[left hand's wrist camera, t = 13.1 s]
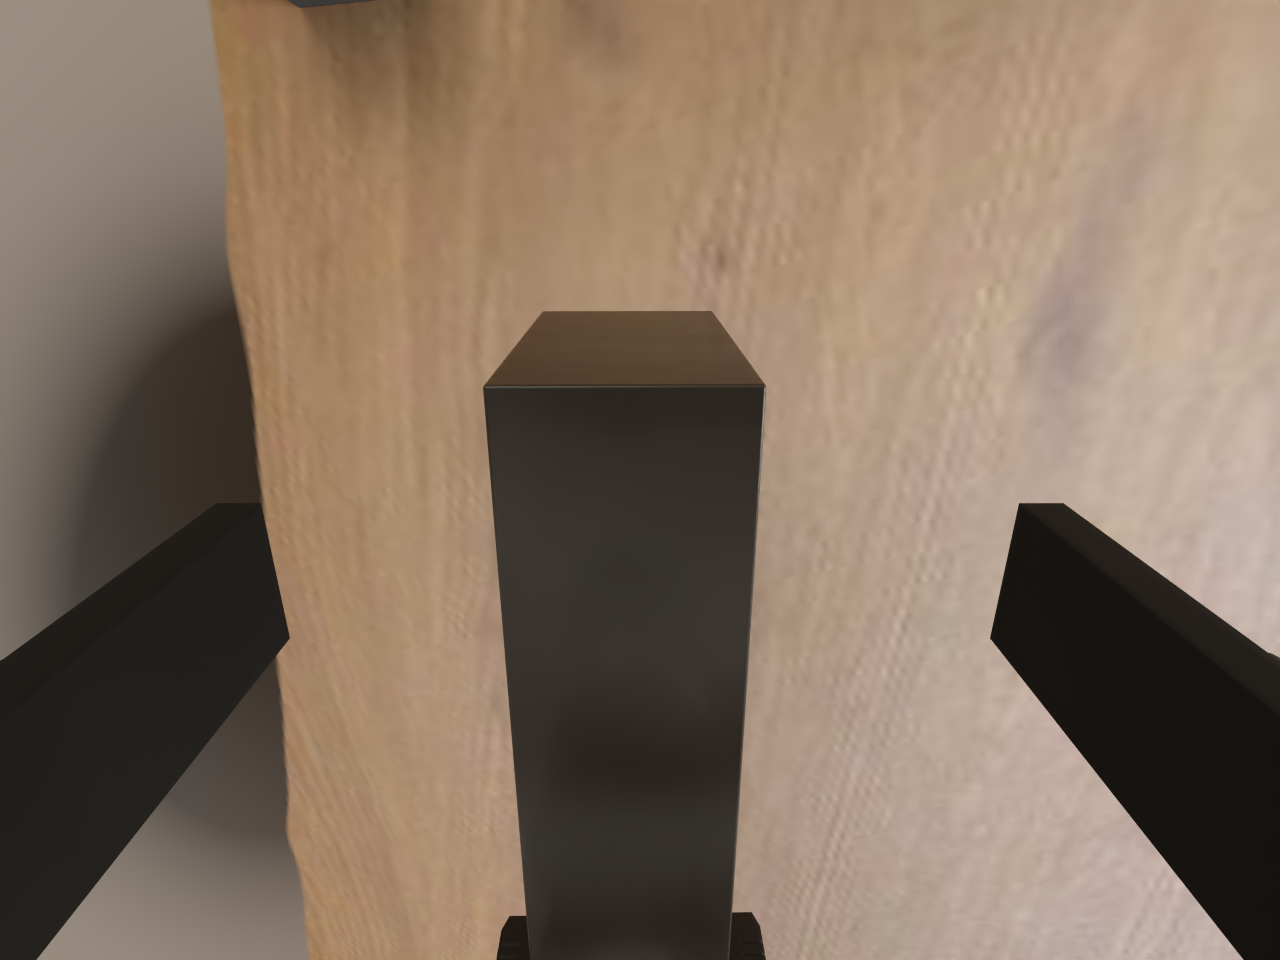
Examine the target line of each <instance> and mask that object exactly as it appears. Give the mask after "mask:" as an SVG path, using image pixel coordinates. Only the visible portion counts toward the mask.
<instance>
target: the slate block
mask: <svg viewBox="0 0 1280 960" xmlns="http://www.w3.org/2000/svg"><path fill="white" fill-rule="evenodd" d="M288 1H289V2H291V3H293V4H295V5H296V6H298V7H300V8H301V7H311V6H321V5H331V4H341V3H351V2H361V1H371V0H288Z"/></svg>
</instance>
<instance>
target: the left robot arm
mask: <svg viewBox="0 0 1280 960" xmlns="http://www.w3.org/2000/svg"><path fill="white" fill-rule="evenodd" d="M289 639H290V637H289V632H288V627H287V623H286V618H285V613H284V609H283V604H282V599H281V595H280V590H279V585H278V581H277V576H276V571H275V567H274V562H273V557H272V553H271V548H270V544H269V539H268V534H267V530H266V525H265V520H264V516H263V511H262V506H261V503H217V504H215V505H214V506H212V507H211V508H210V509H208V510H207V511H206V512H204V513H203V514H201V515H200V516H199V517H197V518H196V519H195V520H193V521H192V522H190V523H189V524H188V525H186V526H185V527H184V528H182V529H181V530H179V531H178V532H177V533H175V534H174V535H173V536H171V537H170V538H169V539H167V540H166V541H164V542H163V543H162V544H160V545H159V546H158V547H156V548H155V549H154V550H152V551H151V552H149V553H148V554H147V555H145V556H144V557H143V558H141V559H140V560H138V561H137V562H136V563H134V564H133V565H132V566H130V567H129V568H128V569H126V570H125V571H123V572H122V573H121V574H119V575H118V576H117V577H115V578H114V579H112V580H111V581H110V582H108V583H107V584H106V585H104V586H103V587H102V588H100V589H99V590H97V591H96V592H95V593H93V594H92V595H91V596H89V597H88V598H87V599H85V600H84V601H82V602H81V603H80V604H78V605H77V606H75V607H74V608H73V609H71V610H70V611H69V612H67V613H66V614H65V615H63V616H62V617H60V618H59V619H58V620H56V621H55V622H54V623H52V624H51V625H49V626H48V627H47V628H45V629H44V630H43V631H41V632H40V633H39V634H37V635H36V636H35V637H33V638H32V639H30V640H29V641H28V642H26V643H25V644H23V645H22V646H21V647H19V648H18V649H17V650H15V651H14V652H13V653H11V654H10V655H8V656H7V657H6V658H4V659H3V660H1V661H0V960H37V958H38V957H39V956H40V954H41V953H42V952H43V951H44V949H45V948H46V947H47V946H48V944H49V943H50V942H51V940H52V939H53V938H54V937H55V935H56V934H57V933H58V932H59V930H60V929H61V928H62V927H63V925H64V924H65V923H66V921H67V920H68V919H69V918H70V916H71V915H72V914H73V912H74V911H75V910H76V909H77V907H78V906H79V905H80V904H81V902H82V901H83V900H84V899H85V897H86V896H87V895H88V894H89V892H90V891H91V890H92V888H93V887H94V886H95V885H96V883H97V882H98V881H99V880H100V878H101V877H102V876H103V875H104V873H105V872H106V871H107V869H108V868H109V867H110V866H111V864H112V863H113V862H114V861H115V859H116V858H117V857H118V855H119V854H120V853H121V852H122V850H123V849H124V848H125V847H126V845H127V844H128V843H129V842H130V840H131V839H132V838H133V836H134V835H135V834H136V833H137V831H138V830H139V829H140V828H141V826H142V825H143V824H144V822H145V821H146V820H147V819H148V817H149V816H150V815H151V814H152V812H153V811H154V810H155V809H156V807H157V806H158V805H159V803H160V802H161V801H162V800H163V798H164V797H165V796H166V795H167V793H168V792H169V791H170V790H171V788H172V787H173V786H174V784H175V783H176V782H177V781H178V779H179V778H180V777H181V776H182V774H183V773H184V772H185V770H186V769H187V768H188V767H189V765H190V764H191V763H192V762H193V760H194V759H195V758H196V756H197V755H198V754H199V753H200V751H201V750H202V749H203V748H204V746H205V745H206V744H207V743H208V741H209V740H210V739H211V737H212V736H213V735H214V734H215V732H216V731H217V730H218V729H219V727H220V726H221V725H222V724H223V722H224V721H225V720H226V718H227V717H228V716H229V715H230V713H231V712H232V711H233V710H234V708H235V707H236V706H237V704H238V703H239V702H240V701H241V699H242V698H243V697H244V696H245V694H246V693H247V692H248V691H249V689H250V688H251V687H252V685H253V684H254V683H255V682H256V680H257V679H258V678H259V677H260V675H261V674H262V673H263V672H264V670H265V669H266V668H267V666H268V665H269V664H270V663H271V661H272V660H273V659H274V658H275V656H276V655H277V654H278V653H279V651H280V650H281V649H282V647H283V646H284V645H285V644H286V642H287V641H288V640H289ZM990 639H991V640H992V641H993V642H994V644H995V645H996V646H997V647H998V649H999V650H1000V651H1001V653H1002V654H1003V655H1004V656H1005V658H1006V659H1007V660H1008V661H1009V663H1010V664H1011V665H1012V666H1013V668H1014V669H1015V670H1016V672H1017V673H1018V674H1019V675H1020V677H1021V678H1022V679H1023V680H1024V682H1025V683H1026V684H1027V686H1028V687H1029V688H1030V689H1031V691H1032V692H1033V693H1034V694H1035V696H1036V697H1037V698H1038V699H1039V701H1040V702H1041V703H1042V705H1043V706H1044V707H1045V708H1046V710H1047V711H1048V712H1049V713H1050V715H1051V716H1052V717H1053V718H1054V720H1055V721H1056V722H1057V724H1058V725H1059V726H1060V727H1061V729H1062V730H1063V731H1064V732H1065V734H1066V735H1067V736H1068V738H1069V739H1070V740H1071V741H1072V743H1073V744H1074V745H1075V746H1076V748H1077V749H1078V750H1079V751H1080V753H1081V754H1082V755H1083V757H1084V758H1085V759H1086V760H1087V762H1088V763H1089V764H1090V765H1091V767H1092V768H1093V769H1094V771H1095V772H1096V773H1097V774H1098V776H1099V777H1100V778H1101V779H1102V781H1103V782H1104V783H1105V784H1106V786H1107V787H1108V788H1109V790H1110V791H1111V792H1112V793H1113V795H1114V796H1115V797H1116V798H1117V800H1118V801H1119V802H1120V803H1121V805H1122V806H1123V807H1124V809H1125V810H1126V811H1127V812H1128V814H1129V815H1130V816H1131V817H1132V819H1133V820H1134V821H1135V823H1136V824H1137V825H1138V826H1139V828H1140V829H1141V830H1142V831H1143V833H1144V834H1145V835H1146V836H1147V838H1148V839H1149V840H1150V842H1151V843H1152V844H1153V845H1154V847H1155V848H1156V849H1157V850H1158V852H1159V853H1160V854H1161V855H1162V857H1163V858H1164V859H1165V861H1166V862H1167V863H1168V864H1169V866H1170V867H1171V868H1172V869H1173V871H1174V872H1175V873H1176V875H1177V876H1178V877H1179V878H1180V880H1181V881H1182V882H1183V883H1184V885H1185V886H1186V887H1187V888H1188V890H1189V891H1190V892H1191V894H1192V895H1193V896H1194V897H1195V899H1196V900H1197V901H1198V902H1199V904H1200V905H1201V906H1202V908H1203V909H1204V910H1205V911H1206V913H1207V914H1208V915H1209V916H1210V918H1211V919H1212V920H1213V921H1214V923H1215V924H1216V925H1217V927H1218V928H1219V929H1220V930H1221V932H1222V933H1223V934H1224V935H1225V937H1226V938H1227V939H1228V940H1229V942H1230V943H1231V944H1232V946H1233V947H1234V948H1235V949H1236V951H1237V952H1238V953H1239V954H1240V956H1241V957H1242V958H1243V960H1280V658H1279V657H1277V656H1275V655H1273V654H1271V653H1267V652H1266V651H1265V650H1263V649H1262V648H1261V647H1259V646H1258V645H1257V644H1255V643H1254V642H1252V641H1251V640H1250V639H1248V638H1247V637H1246V636H1244V635H1243V634H1241V633H1240V632H1239V631H1237V630H1236V629H1235V628H1233V627H1232V626H1231V625H1229V624H1228V623H1226V622H1225V621H1224V620H1222V619H1221V618H1220V617H1218V616H1217V615H1215V614H1214V613H1213V612H1211V611H1210V610H1209V609H1207V608H1206V607H1205V606H1203V605H1202V604H1200V603H1199V602H1198V601H1196V600H1195V599H1194V598H1192V597H1191V596H1189V595H1188V594H1187V593H1185V592H1184V591H1183V590H1181V589H1180V588H1179V587H1177V586H1176V585H1174V584H1173V583H1172V582H1170V581H1169V580H1168V579H1166V578H1165V577H1163V576H1162V575H1161V574H1159V573H1158V572H1157V571H1155V570H1154V569H1153V568H1151V567H1150V566H1148V565H1147V564H1146V563H1144V562H1143V561H1142V560H1140V559H1139V558H1137V557H1136V556H1135V555H1133V554H1132V553H1131V552H1129V551H1128V550H1127V549H1125V548H1124V547H1122V546H1121V545H1120V544H1118V543H1117V542H1116V541H1114V540H1113V539H1111V538H1110V537H1109V536H1107V535H1106V534H1105V533H1103V532H1102V531H1101V530H1099V529H1098V528H1096V527H1095V526H1094V525H1092V524H1091V523H1090V522H1088V521H1087V520H1085V519H1084V518H1083V517H1081V516H1080V515H1079V514H1077V513H1076V512H1075V511H1073V510H1072V509H1070V508H1069V507H1068V506H1066V505H1065V504H1064V503H1019V506H1018V511H1017V516H1016V520H1015V525H1014V530H1013V534H1012V539H1011V544H1010V548H1009V553H1008V557H1007V562H1006V567H1005V571H1004V576H1003V581H1002V585H1001V590H1000V595H999V599H998V604H997V609H996V613H995V618H994V623H993V627H992V632H991V637H990Z"/></svg>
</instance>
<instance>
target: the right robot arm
mask: <svg viewBox="0 0 1280 960" xmlns="http://www.w3.org/2000/svg"><path fill="white" fill-rule="evenodd" d="M497 960H530V952H529V940H528V928H527V916H510V917H509V918H508V920H507V922H506V923H505V925H504V927H503V928H502V931H501V936H500V942H499V948H498V953H497ZM729 960H766V958H765V952H764V947H763V942H762V935H761V930H760V925H759V924H758V922H757V920H756V919H755V917H754V915H753V914H752V912H740V913H732V920H731V935H730V951H729Z"/></svg>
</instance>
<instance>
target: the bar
mask: <svg viewBox="0 0 1280 960" xmlns="http://www.w3.org/2000/svg"><path fill="white" fill-rule="evenodd" d="M483 393H484V405H485V417H486V430H487V442H488V454H489V466H490V478H491V490H492V503H493V515H494V527H495V539H496V551H497V563H498V575H499V588H500V600H501V612H502V624H503V636H504V648H505V661H506V673H507V685H508V697H509V709H510V721H511V734H512V746H513V758H514V770H515V782H516V794H517V807H518V819H519V831H520V843H521V855H522V867H523V879H524V892H525V904H526V916H527V928H528V940H529V952H530V960H729V951H730V935H731V920H732V905H733V889H734V874H735V859H736V843H737V828H738V813H739V797H740V782H741V767H742V751H743V736H744V721H745V705H746V690H747V675H748V659H749V644H750V629H751V614H752V598H753V583H754V568H755V552H756V537H757V522H758V506H759V491H760V476H761V460H762V445H763V430H764V414H765V399H766V385H765V384H764V382H763V381H762V380H761V378H760V377H759V375H758V374H757V373H756V371H755V370H754V369H753V367H752V366H751V364H750V363H749V362H748V360H747V359H746V357H745V356H744V355H743V353H742V352H741V351H740V349H739V348H738V346H737V345H736V344H735V342H734V341H733V340H732V338H731V337H730V335H729V334H728V333H727V331H726V330H725V328H724V327H723V326H722V324H721V323H720V322H719V320H718V319H717V317H716V316H715V315H714V313H713V312H712V311H544V312H542V313H541V314H540V316H539V317H538V318H537V320H536V321H535V322H534V323H533V325H532V326H531V327H530V328H529V330H528V331H527V332H526V333H525V335H524V336H523V337H522V338H521V340H520V341H519V342H518V343H517V345H516V346H515V347H514V349H513V350H512V351H511V352H510V354H509V355H508V356H507V357H506V359H505V360H504V361H503V362H502V364H501V365H500V366H499V367H498V369H497V370H496V371H495V372H494V374H493V375H492V376H491V378H490V379H489V380H488V381H487V383H486V384H485V385H484V387H483Z"/></svg>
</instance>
